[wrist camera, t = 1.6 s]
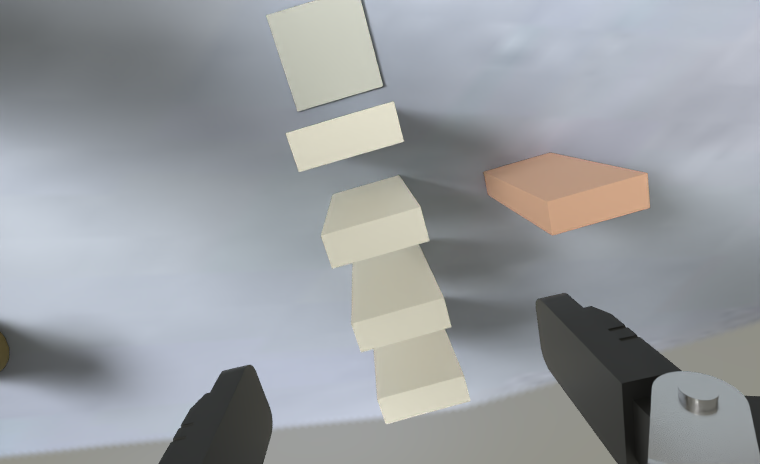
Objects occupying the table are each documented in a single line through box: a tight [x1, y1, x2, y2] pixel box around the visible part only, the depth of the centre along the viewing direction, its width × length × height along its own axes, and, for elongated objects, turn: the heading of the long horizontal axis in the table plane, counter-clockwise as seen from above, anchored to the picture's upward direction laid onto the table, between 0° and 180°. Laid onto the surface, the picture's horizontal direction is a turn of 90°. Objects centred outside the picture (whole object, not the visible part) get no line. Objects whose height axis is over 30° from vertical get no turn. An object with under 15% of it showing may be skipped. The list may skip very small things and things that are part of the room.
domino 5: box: [484, 153, 650, 235], centre depth 24 cm, size 2×5×10 cm, turn 106°
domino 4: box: [374, 329, 470, 424], centre depth 27 cm, size 2×5×10 cm, turn 106°
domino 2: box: [321, 175, 429, 269], centre depth 24 cm, size 2×5×10 cm, turn 106°
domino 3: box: [351, 244, 451, 352], centre depth 25 cm, size 2×5×10 cm, turn 106°
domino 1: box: [286, 102, 404, 172], centre depth 22 cm, size 2×5×10 cm, turn 106°
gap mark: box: [266, 0, 383, 111], centre depth 26 cm, size 6×6×1 cm
